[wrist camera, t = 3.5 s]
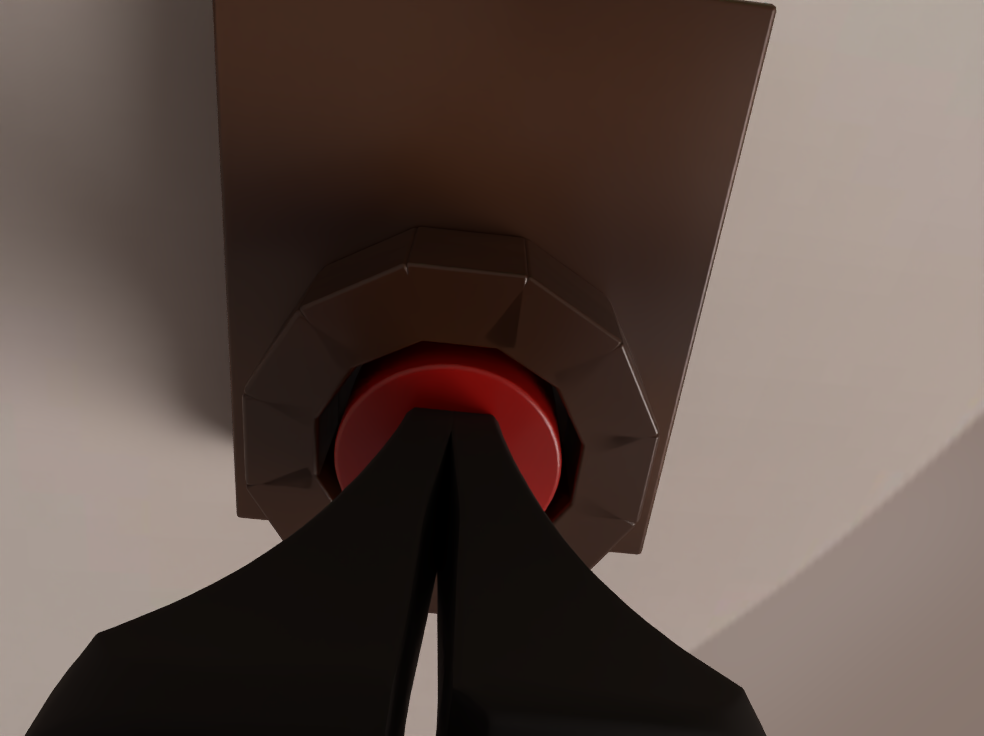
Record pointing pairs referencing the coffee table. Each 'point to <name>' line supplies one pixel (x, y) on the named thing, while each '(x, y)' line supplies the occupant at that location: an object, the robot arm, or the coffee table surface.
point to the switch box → (476, 220)
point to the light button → (453, 407)
